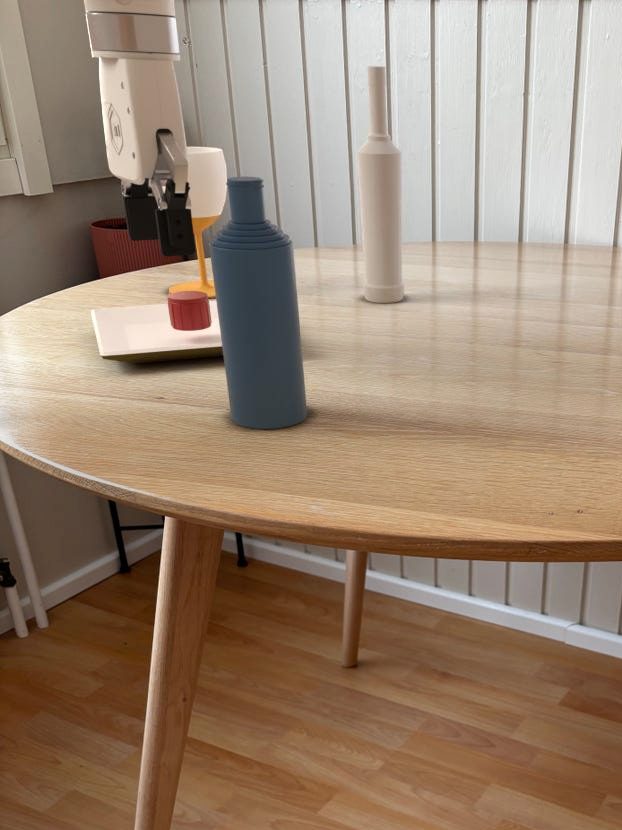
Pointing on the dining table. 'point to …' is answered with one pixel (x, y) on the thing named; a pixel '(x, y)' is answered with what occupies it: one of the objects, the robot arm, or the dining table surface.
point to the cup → (204, 205)
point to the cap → (189, 310)
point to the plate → (152, 335)
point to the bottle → (380, 200)
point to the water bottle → (258, 313)
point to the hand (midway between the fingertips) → (161, 247)
